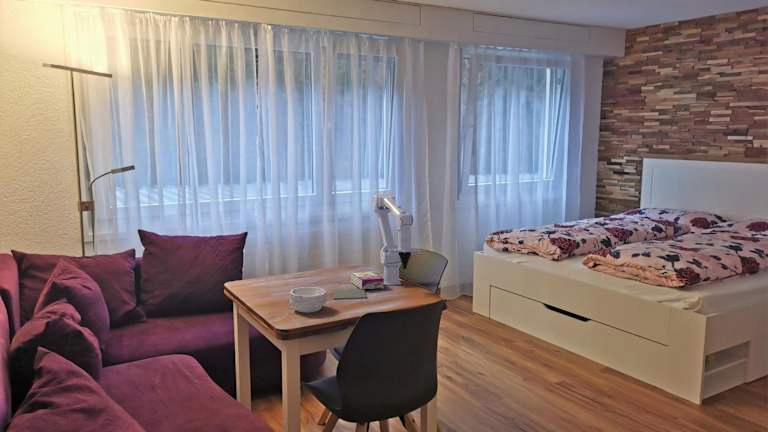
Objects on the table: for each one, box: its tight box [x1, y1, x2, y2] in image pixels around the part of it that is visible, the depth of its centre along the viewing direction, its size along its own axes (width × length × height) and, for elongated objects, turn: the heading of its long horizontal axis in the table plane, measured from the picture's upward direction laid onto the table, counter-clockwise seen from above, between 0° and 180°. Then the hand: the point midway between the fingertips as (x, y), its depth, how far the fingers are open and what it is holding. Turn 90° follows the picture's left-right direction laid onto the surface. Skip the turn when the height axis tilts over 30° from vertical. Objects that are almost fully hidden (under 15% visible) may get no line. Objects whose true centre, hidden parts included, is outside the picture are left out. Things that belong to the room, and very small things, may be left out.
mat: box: [332, 288, 368, 300], centre depth 269 cm, size 14×14×1 cm
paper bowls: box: [289, 286, 328, 314], centre depth 246 cm, size 15×15×8 cm
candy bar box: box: [350, 271, 385, 291], centre depth 283 cm, size 11×5×16 cm
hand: (404, 268), depth 274 cm, fingers closed
